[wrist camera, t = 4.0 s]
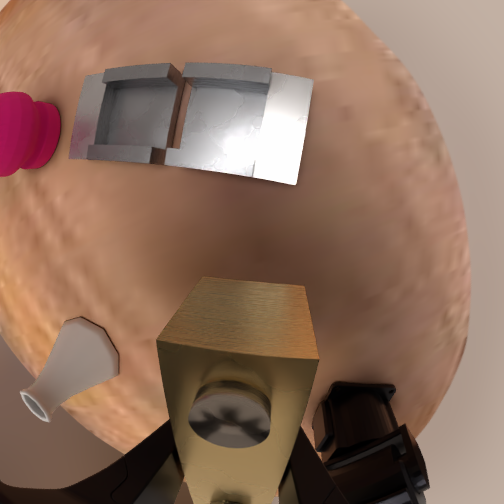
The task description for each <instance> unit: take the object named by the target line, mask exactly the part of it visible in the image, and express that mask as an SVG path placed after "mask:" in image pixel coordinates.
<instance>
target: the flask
mask: <svg viewBox="0 0 504 504" xmlns="http://www.w3.org/2000/svg"><path fill="white" fill-rule="evenodd" d="M115 376H118V354H117V352H116V350H115V349H114V347H113V345H112V343H111V342H110V340H109V338H108V336H107V335H106V333H105V331H104V329H102V328H100V327H98V326H96V325H94V324H92V323H90V322H88V321H87V320H85V319H83V318H81V317H79V318H75V319H72V320H68V321H65V322H64V324H63V326H62V328H61V330H60V332H59V335H58V337H57V339H56V342H55V344H54V346H53V349H52V351H51V353H50V355H49V357H48V360H47V362H46V364H45V367H44V369H43V370H42V372H41V373H40V375H39V376H38V378H37V379H36V381H35V382H34V383H33V384H32V385H31V386H30V387H29V388H28V389H22V390H21V391H20V394H21V396H22V398H23V401H24V402H25V404H26V405H27V406H28V407H29V409H30V410H31V411H32V413H34V414H35V415H36V416H37V417H39V418H40V419H41V420H43V421H46V422H50V421H51V419H52V417H51V414H52V413H53V412H54V410H55V409H56V408H57V407H58V406H59V405H60V404H62V403H63V402H64V401H66V400H67V399H69V398H70V397H71V396H73V395H75V394H78V393H80V392H82V391H84V390H86V389H88V388H90V387H93V386H95V385H97V384H100V383H102V382H104V381H107V380H109V379H111V378H113V377H115Z"/></svg>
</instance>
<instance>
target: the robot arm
mask: <svg viewBox="0 0 504 504" xmlns="http://www.w3.org/2000/svg"><path fill="white" fill-rule="evenodd" d="M337 387H339V388H337ZM395 392H396V388H395V386H394V385H374V384H355V383H341V382H336V383H334V384H332V386H331V388H330V390H329V392H328V394H327V396H326V398H325V400H324V401H322V402H321V403H320V405H319V407H318V409H317V411H316V413H315V415H314V417H313V423H312V429H313V430H314V439H315V449H314V448H313V446H312V444H311V443H310V441H309V439H308V437H307V436H306V434H305V432H304V431H303V429H302V427H301V425H300V428H299V432H298V435H297V438H296V440H295V443H294V446H293V449H292V452H291V455H290V458H289V460H288V463H287V466H286V468H285V471H284V474H283V476H282V479H281V481H280V484H279V486H278V490H279V504H426V499H425V496H424V493H423V491H425V490H427V489H429V488H430V485H429V479H428V475H427V469H426V465H425V461H424V458H423V456H422V453H421V451H420V448H419V446H418V444H417V442H416V440H415V438H414V437H413V435H412V433H411V432H410V430H409V428H408V427H407V425H406V424H403V425H401V426H400V427H399V426H398V424H397V421H396V418H395V416H394V413H393V411H392V408H391V405H390V403H389V401H390V400H391V398H392V397H393V395H394V393H395ZM315 450H316V451H317V452H321V456H322V461H321V459H320V458H319V456H318V454H317V453H316V451H315ZM184 476H185V475H184V472H183V468H182V465H181V461H180V458H179V454H178V450H177V447H176V443H175V439H174V435H173V430H172V426H171V422H170V419H169V420H168V421H166V422H165V423H164V424H163V425H162V426H160V427H159V428H158V429H157V430H156V431H154V432H153V433H152V434H151V435H149V436H148V437H147V438H146V439H144V440H143V441H142V442H141V443H139V444H138V445H137V446H135V447H134V448H133V449H132V450H130V451H129V452H128V453H126V454H125V455H124V456H122V457H121V458H120V459H118V460H117V461H116V462H114V463H112V464H111V465H110V466H108V467H107V468H105V469H103V470H101V471H100V472H98V473H96V474H94V475H92V476H90V477H88V478H86V479H84V480H82V481H80V482H78V483H76V484H73V485H71V486H69V487H65V488H61V489H34V488H19V487H13V486H9V485H6V484H4V483H3V482H2V481H1V480H0V504H174V502H175V499H176V497H177V494H178V492H179V489H180V487H181V484H182V481H183V479H184Z"/></svg>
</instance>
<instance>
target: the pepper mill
mask: <svg viewBox="0 0 504 504" xmlns="http://www.w3.org/2000/svg"><path fill="white" fill-rule="evenodd" d="M60 126H61V122H60V115H59V112H58V110H57V108H56V107H55V106H54V105H52V104H50V103H45V102H39V101H36V102H33V100H32V98H31V97H30V96H29V95H28V94H26V93H23V92H6V93H1V94H0V177H6V176H9V175H12V174H13V173H15V172H16V171H17V170H18V169H19V168H22V169H35V168H40V167H42V166H43V165H44V164H45V163H46V162H47V161H48V160H49V159H50V157H51V156H52V154H53V153H54V151H55V148H56V146H57V143H58V139H59V135H60Z"/></svg>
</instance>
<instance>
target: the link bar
mask: <svg viewBox="0 0 504 504" xmlns="http://www.w3.org/2000/svg"><path fill="white" fill-rule="evenodd" d="M156 342H157V350H158V357H159V363H160V370H161V376H162V382H163V387H164V393H165V398H166V403H167V408H168V413H169V417H170V422H171V426H172V430H173V435H174V439H175V443H176V447H177V450H178V454H179V458H180V461H181V465H182V468H183V472H184V475H185V478H186V482H187V485H188V488H189V491H190V494H191V497H192V500H193V503H194V504H271V503H272V501H273V498H274V496H275V493H276V491H277V489H278V486H279V484H280V481H281V479H282V476H283V474H284V471H285V468H286V466H287V463H288V460H289V458H290V455H291V452H292V449H293V446H294V443H295V440H296V438H297V435H298V432H299V428H300V425H301V422H302V419H303V416H304V413H305V409H306V406H307V403H308V399H309V396H310V392H311V389H312V385H313V381H314V378H315V374H316V370H317V366H318V362H319V355H318V350H317V345H316V340H315V335H314V330H313V325H312V320H311V315H310V310H309V306H308V301H307V296H306V292H305V287H304V286H300V285H288V284H277V283H265V282H255V281H244V280H234V279H225V278H215V277H206V276H203V277H202V278H201V279H200V281H199V282H198V283H197V285H196V286H195V287H194V289H193V290H192V291H191V293H190V294H189V295H188V297H187V298H186V299H185V301H184V302H183V303H182V305H181V306H180V308H179V309H178V310H177V312H176V313H175V314H174V316H173V317H172V318H171V320H170V321H169V323H168V324H167V325H166V327H165V328H164V329H163V331H162V332H161V334H160V335H159V336H158V338H157V339H156Z"/></svg>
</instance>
